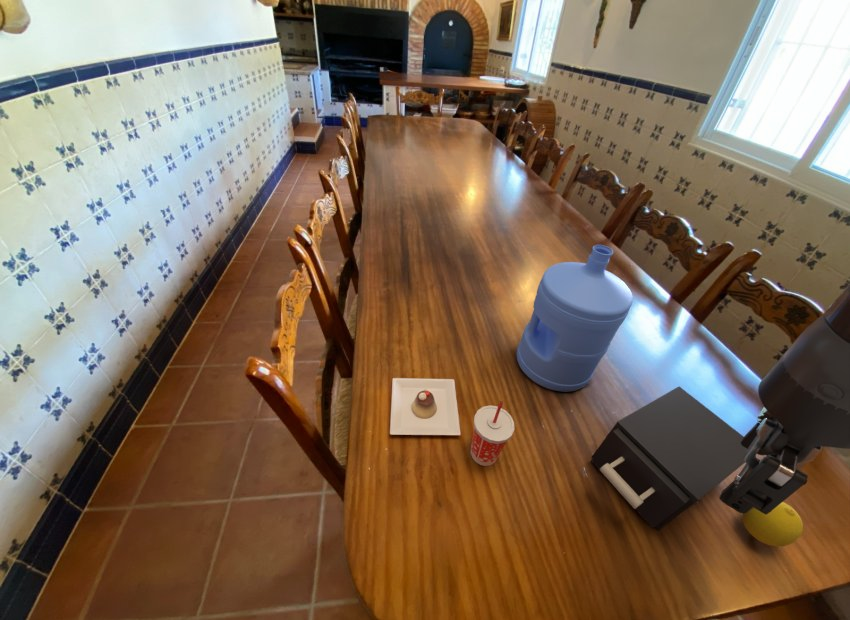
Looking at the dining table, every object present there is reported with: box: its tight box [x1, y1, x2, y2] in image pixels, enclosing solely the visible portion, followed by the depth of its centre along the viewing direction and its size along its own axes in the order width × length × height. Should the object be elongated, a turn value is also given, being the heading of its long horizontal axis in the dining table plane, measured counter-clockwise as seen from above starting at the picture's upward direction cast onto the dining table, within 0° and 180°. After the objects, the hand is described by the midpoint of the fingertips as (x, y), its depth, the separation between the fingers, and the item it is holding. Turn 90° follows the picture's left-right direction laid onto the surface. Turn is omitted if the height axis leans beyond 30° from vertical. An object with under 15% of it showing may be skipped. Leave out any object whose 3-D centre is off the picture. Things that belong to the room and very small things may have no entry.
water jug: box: [516, 244, 634, 393], centre depth 67 cm, size 16×16×28 cm
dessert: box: [389, 377, 462, 436], centre depth 64 cm, size 12×12×5 cm
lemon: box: [742, 501, 804, 547], centre depth 50 cm, size 6×6×8 cm
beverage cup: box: [470, 400, 515, 467], centre depth 55 cm, size 6×6×14 cm
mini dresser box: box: [591, 428, 690, 529], centre depth 54 cm, size 19×11×9 cm, turn 118°
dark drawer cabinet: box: [591, 386, 747, 532], centre depth 56 cm, size 16×13×11 cm
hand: (741, 474), depth 39 cm, fingers open, 8 cm apart
